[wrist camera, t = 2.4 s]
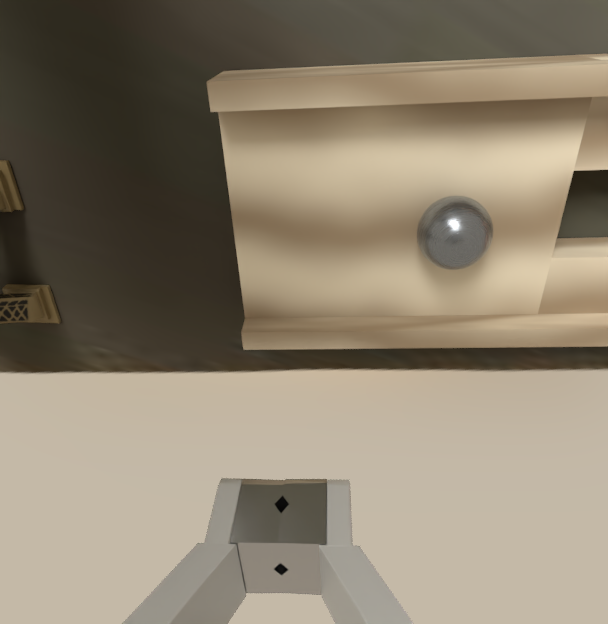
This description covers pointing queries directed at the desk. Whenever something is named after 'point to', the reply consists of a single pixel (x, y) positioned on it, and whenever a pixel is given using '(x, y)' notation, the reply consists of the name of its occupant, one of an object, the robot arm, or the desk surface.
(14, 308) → the eiffel tower
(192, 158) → the desk surface
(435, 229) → the steel ball
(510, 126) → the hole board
